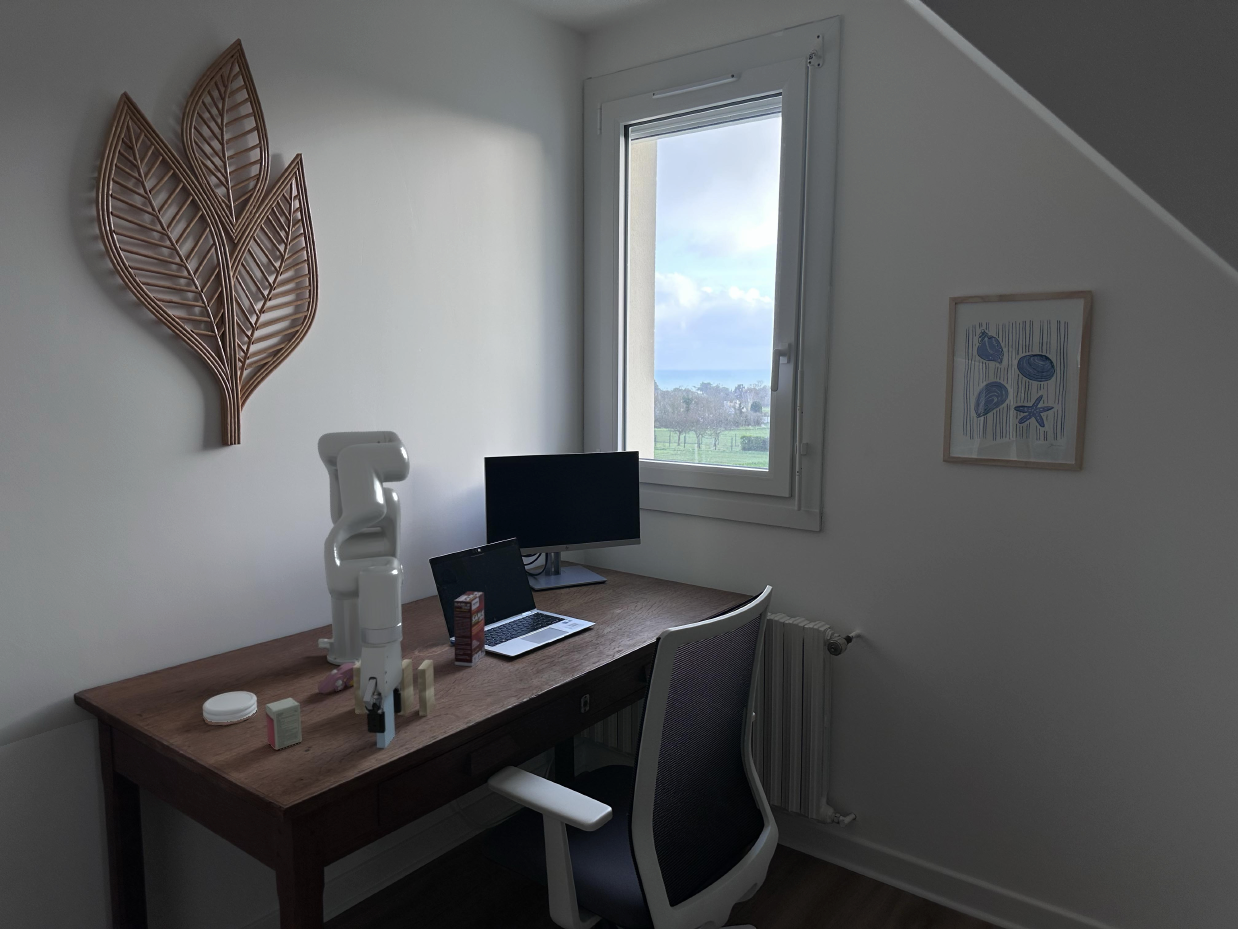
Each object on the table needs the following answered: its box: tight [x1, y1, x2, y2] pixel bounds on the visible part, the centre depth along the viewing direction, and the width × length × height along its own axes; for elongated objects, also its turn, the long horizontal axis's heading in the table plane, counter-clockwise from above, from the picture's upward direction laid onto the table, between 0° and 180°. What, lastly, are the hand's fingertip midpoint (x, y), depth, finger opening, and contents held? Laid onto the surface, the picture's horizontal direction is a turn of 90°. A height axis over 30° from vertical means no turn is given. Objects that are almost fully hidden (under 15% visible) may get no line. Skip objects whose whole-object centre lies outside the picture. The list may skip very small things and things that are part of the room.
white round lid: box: [202, 690, 258, 722], centre depth 165 cm, size 10×10×4 cm
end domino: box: [374, 691, 396, 749], centre depth 153 cm, size 2×5×10 cm, turn 176°
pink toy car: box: [317, 661, 358, 694], centre depth 179 cm, size 10×5×7 cm, turn 149°
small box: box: [264, 697, 303, 748], centre depth 153 cm, size 5×4×8 cm
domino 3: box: [417, 659, 435, 717], centre depth 166 cm, size 2×5×10 cm, turn 176°
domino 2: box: [397, 659, 415, 716], centre depth 167 cm, size 2×5×10 cm, turn 176°
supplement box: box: [453, 591, 486, 667], centre depth 195 cm, size 9×5×16 cm, turn 168°
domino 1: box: [353, 660, 366, 714], centre depth 168 cm, size 2×5×10 cm, turn 176°
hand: (385, 721), depth 153 cm, fingers open, 7 cm apart
